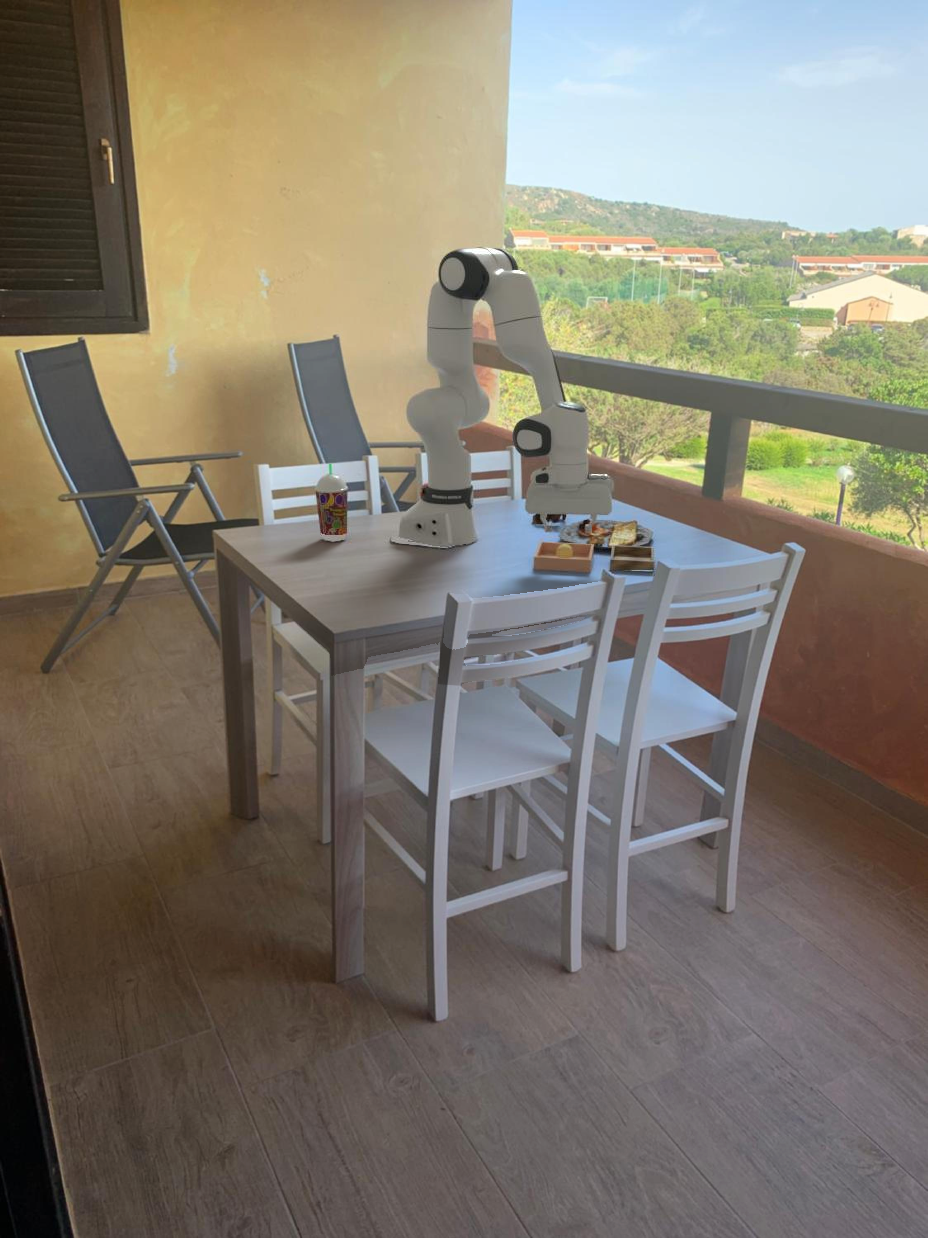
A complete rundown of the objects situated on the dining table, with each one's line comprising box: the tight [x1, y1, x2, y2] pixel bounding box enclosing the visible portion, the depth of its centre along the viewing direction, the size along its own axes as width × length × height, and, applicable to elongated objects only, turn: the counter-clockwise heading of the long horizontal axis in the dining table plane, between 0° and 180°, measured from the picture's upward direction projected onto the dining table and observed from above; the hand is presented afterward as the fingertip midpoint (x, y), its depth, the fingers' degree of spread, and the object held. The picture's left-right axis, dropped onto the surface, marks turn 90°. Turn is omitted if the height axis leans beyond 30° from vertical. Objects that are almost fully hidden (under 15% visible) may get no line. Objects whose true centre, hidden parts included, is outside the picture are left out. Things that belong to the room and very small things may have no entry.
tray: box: [609, 545, 655, 571], centre depth 218 cm, size 10×12×3 cm
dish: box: [533, 541, 595, 573], centre depth 218 cm, size 13×13×3 cm
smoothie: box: [314, 462, 349, 535], centre depth 235 cm, size 8×8×20 cm
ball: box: [556, 544, 573, 558], centre depth 218 cm, size 4×4×4 cm
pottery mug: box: [531, 514, 567, 526], centre depth 253 cm, size 12×9×8 cm
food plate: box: [557, 518, 654, 550], centre depth 237 cm, size 25×23×4 cm
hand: (568, 532), depth 216 cm, fingers open, 8 cm apart
